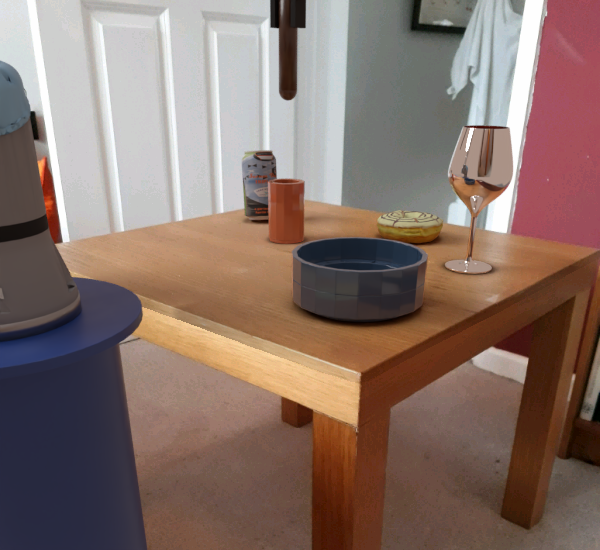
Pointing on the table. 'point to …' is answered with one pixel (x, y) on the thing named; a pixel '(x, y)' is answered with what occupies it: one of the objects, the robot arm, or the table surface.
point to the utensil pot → (286, 210)
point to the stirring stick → (287, 52)
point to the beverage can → (257, 182)
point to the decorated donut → (409, 226)
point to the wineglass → (479, 179)
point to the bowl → (358, 278)
